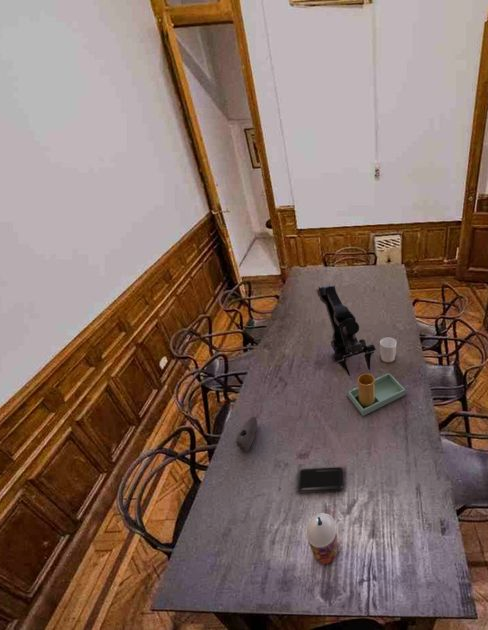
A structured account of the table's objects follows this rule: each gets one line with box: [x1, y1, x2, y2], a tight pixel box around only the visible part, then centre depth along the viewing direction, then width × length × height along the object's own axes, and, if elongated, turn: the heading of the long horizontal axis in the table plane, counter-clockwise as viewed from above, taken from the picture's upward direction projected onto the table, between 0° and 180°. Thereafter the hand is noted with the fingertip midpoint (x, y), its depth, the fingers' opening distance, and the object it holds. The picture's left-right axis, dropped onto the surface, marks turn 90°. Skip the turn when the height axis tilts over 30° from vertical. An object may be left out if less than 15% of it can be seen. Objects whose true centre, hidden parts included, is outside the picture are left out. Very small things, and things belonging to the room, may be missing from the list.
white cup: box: [379, 336, 397, 363], centre depth 165 cm, size 8×8×10 cm
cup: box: [357, 373, 376, 406], centre depth 142 cm, size 7×7×12 cm
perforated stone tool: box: [235, 416, 258, 453], centre depth 130 cm, size 15×5×7 cm, turn 172°
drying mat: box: [354, 396, 379, 409], centre depth 145 cm, size 8×8×1 cm
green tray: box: [347, 372, 406, 417], centre depth 147 cm, size 21×12×4 cm, turn 120°
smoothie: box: [305, 513, 338, 565], centre depth 93 cm, size 8×8×20 cm
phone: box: [297, 466, 344, 494], centre depth 117 cm, size 8×1×15 cm
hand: (359, 372), depth 146 cm, fingers open, 9 cm apart
